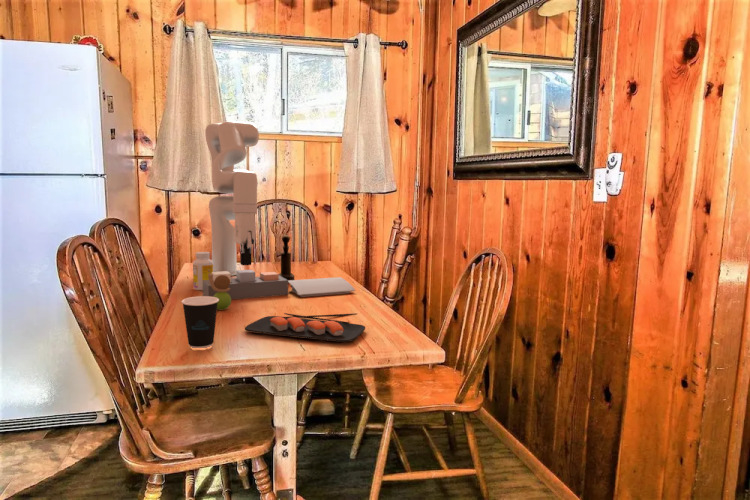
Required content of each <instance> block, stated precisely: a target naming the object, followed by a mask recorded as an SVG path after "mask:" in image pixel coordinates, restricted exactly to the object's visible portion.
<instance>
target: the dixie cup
mask: <svg viewBox="0 0 750 500" xmlns="http://www.w3.org/2000/svg"><path fill="white" fill-rule="evenodd" d="M218 301H219V299H218V298H216V297H210V296H203V295H200V296H198V295H197V296H192V297H191V296H190V297H186V298H184V299H182V300H181V304H182V307H183V313H184V321H185V322H184V323H185V330H186V336H187V344H188V346H189V348H190V347H192V348H207V347H210V346H212V347H213V344H214V342H215V333H216V332H215V330H216V322H217V321H216V320H217V311H218V309H217V302H218Z"/></svg>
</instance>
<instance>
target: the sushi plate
mask: <svg viewBox="0 0 750 500" xmlns="http://www.w3.org/2000/svg"><path fill="white" fill-rule="evenodd" d="M283 314H284V315H288V316H279V315H277V316H276V315H268V316H264V317H262V318H260V319H257V320H255V321H254V322H250V324H247V325H246V326H245V327H244V331H246V332H250V333H257V334H265V335H275V336H283V337H292V338H293V337H294V338H302V339H309V340H310V339H311V340H318V339H319V341H327V340H328V341H329V342H341V343H342V342H343V343H344V342H345V343H347V342H351V341H352V342H353V341H354V340H356V339H357V338H358V337H360V336H361V335H362V334H363V333H364V331H365V330H366V326H365V325H363V324H357V323H350V321H344V320H336V319H328V317H331V318H332V317H348V316H354V315H358V313H339V314H338V313H337V314H335V313H334V314H321V315H301V314H300V315H299V314H293V313H285V312H284V313H283ZM320 317H321V318H320ZM322 317H323V318H322ZM324 317H325V318H324ZM326 317H327V318H326Z"/></svg>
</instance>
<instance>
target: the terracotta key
mask: <svg viewBox="0 0 750 500" xmlns="http://www.w3.org/2000/svg"><path fill="white" fill-rule="evenodd" d="M279 274H280V273H277V272H276V271H267V272H266V271H264V272H259V277H260V279H261V280H263V281H268V280H279Z"/></svg>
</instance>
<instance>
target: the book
mask: <svg viewBox="0 0 750 500" xmlns="http://www.w3.org/2000/svg"><path fill="white" fill-rule="evenodd" d="M288 284H290V288H291V291H292V293H295V294H296V295H297V296H299V297H300V298H307V297H319V296H320V297H321V296H330V295H331V296H332V295H344V294H351V292H356V288H354V286H353V285H352V284H351V283H350V282H349V281H347V280H346V279H345V278H343V277H341V276H339V277H337V276H336V277H323V278H320V277H319V278H309V279H308V278H307V279H304V278H303V279H294V280H288Z"/></svg>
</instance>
